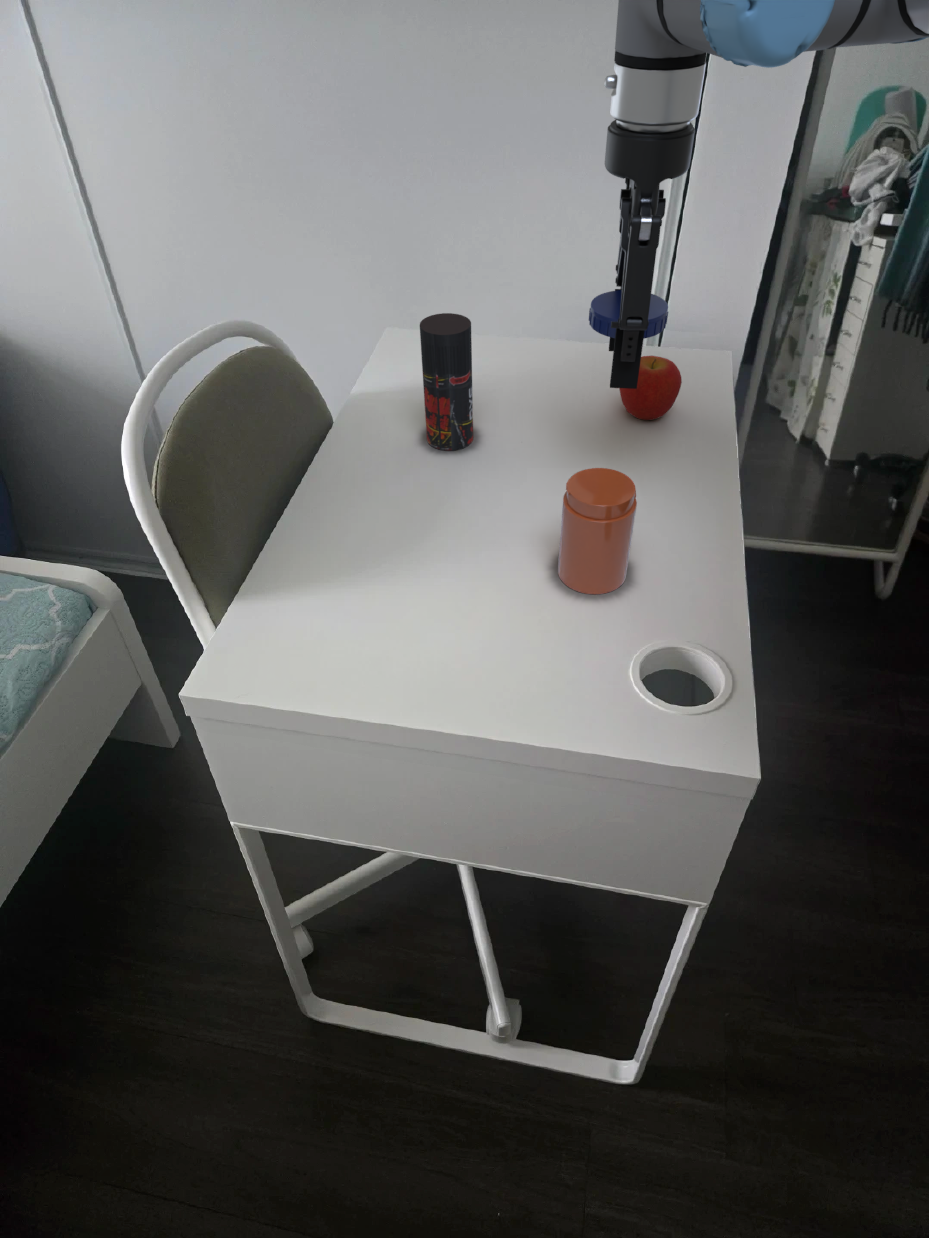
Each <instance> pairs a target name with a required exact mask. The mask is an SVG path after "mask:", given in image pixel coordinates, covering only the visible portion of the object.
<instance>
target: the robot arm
mask: <svg viewBox="0 0 929 1238" xmlns="http://www.w3.org/2000/svg"><path fill="white" fill-rule="evenodd" d="M927 38H928V39H929V0H618V4H617V15H616V30H615V43H614V59H613V60H614V64H613V71H614V73H615V74H611V75H606V76H605V79H604V85H603V87H605V88H606V89H608V90H612V91H611V94H610V95H611V96H610V104H609V105H610V107H609V114H610V116H611V117H612V118H613V119H614V120H613V121H611V122H610V124H609V125H608V127H607V130H606V131H607V132H606V142H605V143H606V144H605V154H604V167H605V170H606V171H607V172H608V173H609V174H611V175H612V176H614V177H617V178H620V179H624V184H625V188H621V189H620V195H619V211H620V213H619V226H618V231H619V234H620V236H619V245H618V254H617V263H616V265H615V272H616V277H615V282H614V283H615V284H616V286H615V287H617V288H614V291H617V290H622V293H621V305H620V316H619V319H618V322H614V321H611V328H616V334H615V338H612V337H609V341H608V352H613V353H612V363H611V371H610V378H609V379H610V381H609V389H619V388H628V389H637V383H638V376H639V368H640V361H641V357H642V353H643V345H644V332H645V330H647V328H648V326H649V321H648V315H649V307H650V299H651V294H652V289H653V281H654V275H655V274H654V273H655V265H656V258H657V257H656V256H657V249H658V247H659V245H660V236H661V227H662V225H663V218H664V217H665V214H666V206H667V205H666V203H667V198H665V197H664V195H665V189H660V184H661V183H662V182H664V181H666V180H668V179H669V180H673V179H674V180H675V179H677V178H679V177H682V176H683V175H685V174H686V173H687V171H688V170H689V169H690V166H691V159H692V154H693V153H692V151H693V146H694V140H695V139H694V138H695V133H696V128H695V127H694V125H693V123H692V121H693V120H695V119H696V118H697V117H698V115H699V113H700V111H699V110H700V105H701V98H702V92H703V85H704V80H705V72H706V67H707V54H709V55H712V56H716V57H718V58H720V59H723V60H724V61H727V62H731V63H732V64H733V65H736V66H741V67H744V68H747V67H749V66H755V67H760V68H766V69H767V68H768V69H769V68H771V69H772V68H778V67H782V66H785V65H787V64H789V63H791V61H793V60H794V59H796V58H798V57H799V56H800V55H801V54H802V53H805V52H806V53H807V52H814V51H816V52H817V51H823V50H831V49H836V48H848V47H859V46H872V45H873V46H874V45H884V44H885V45H886V44H891V45H893V44H894V45H895V44H905V43H915V42H916V43H917V42H920V41H924V40H925V39H927ZM619 287H620V288H619Z"/></svg>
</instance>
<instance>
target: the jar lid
mask: <svg viewBox="0 0 929 1238" xmlns="http://www.w3.org/2000/svg"><path fill="white" fill-rule="evenodd" d="M621 293H622V290H617V291H615V290H611V291H606V292H602V293H600V294H598V295H597V296H595V297H594V298H593V299H592V300H591V302H590V307H589V311H588V321H589V326H590V327H591V329H592V330H593V331H594V332H596V333H598V334H599V335H602V336H605V337H607V338H608V337H609V338H610V337H612V338H615V334H616V328H611V321H614V322H618V319H619V316H620V305H621ZM668 317H669V304H668V302H667V301H666V300H665V299H664V298H663V297H661V296H659V295H657V294H654V293H651V299H650V307H649V315H648V321H649V326H648V328H647V330H645V332H644V339H649V338H652V337H655V336H657V335H659V334H661V333H662V332H663V331H664V330H665V329H666V327H667V324H668ZM644 339H643V340H644Z"/></svg>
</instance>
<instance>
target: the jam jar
mask: <svg viewBox="0 0 929 1238" xmlns="http://www.w3.org/2000/svg"><path fill="white" fill-rule="evenodd" d="M637 506H638V501H637V490H636V484H635V482H634V481H633V479H632V478H631V477H630V476H629V475H627V474H625V473H623V472H621V471H619V470H616V469H612V468H607V467H592V468H591V467H590V468H585V469H582V470H580V471H577V472H576V473H573V474H572V476H571V477H570V478H568V480H567V482H566V483H565V492H564V494H563V496H562V507H561V523H560V535H559V550H558V560H557V561H558V564H557V575H558V577H559V579H560V581H561V582H562V583H563V584H564V585H565V586H566V587H568V588H569V589H570V590H573V591H575V592H578V593H582V594H585V595H603V594H608V593H611V592H613V591H616V590H617V589H619V588H620V587H621V586H622V585H623V584H624V582H626V581H625V580H626V578H627V573H628V566H629V559H630V554H631V553H630V552H631V546H632V539H633V533H634V526H635V520H636V513H637Z"/></svg>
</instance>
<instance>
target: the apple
mask: <svg viewBox="0 0 929 1238" xmlns="http://www.w3.org/2000/svg"><path fill="white" fill-rule="evenodd" d="M682 383H683V381H682V374H681V371H680V369H679V368H678V366H677V365H676V363H675V362H674V361H672V360H671V359H669V358H666V357H662V356H657V355H641V361H640V368H639V376H638V383H637V389H628V388H618V389H619V390H618V391H619V394H620V400H621V403H622V405H623V406H624V408H625V410H626V412H627V413H629V414H630V415H632V416H633V417H634V418H636V419H638V420H644V421H652V420H656V419H659V418H662V417H663V416H665V415H666V414H667V413H668V412H669V411H670V410H671V408H672V407H673V406H674V404H675V402H676V400H677V398H678V396H679V393H680V392H681V391H680V390H681V387H682Z"/></svg>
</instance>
